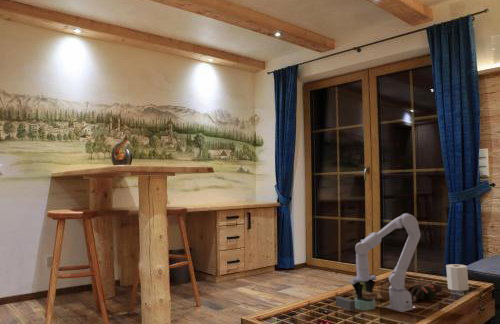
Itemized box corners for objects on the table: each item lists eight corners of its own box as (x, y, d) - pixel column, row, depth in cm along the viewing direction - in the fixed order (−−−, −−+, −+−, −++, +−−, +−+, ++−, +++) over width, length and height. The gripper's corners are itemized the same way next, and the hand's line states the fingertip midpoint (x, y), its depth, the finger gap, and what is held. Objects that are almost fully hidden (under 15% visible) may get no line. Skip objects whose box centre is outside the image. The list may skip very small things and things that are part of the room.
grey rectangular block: (355, 310, 189) (354, 300, 190) (350, 311, 188) (349, 301, 188) (341, 305, 198) (340, 296, 198) (336, 306, 197) (335, 297, 197)
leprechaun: (394, 295, 204) (425, 281, 218) (404, 313, 200) (435, 299, 213) (408, 287, 196) (439, 274, 210) (419, 306, 192) (450, 291, 205)
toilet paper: (455, 291, 214) (453, 268, 215) (443, 287, 224) (441, 264, 225) (473, 290, 215) (471, 266, 216) (460, 285, 226) (458, 263, 227)
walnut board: (377, 297, 190) (377, 294, 191) (368, 299, 188) (368, 295, 188) (360, 293, 200) (360, 289, 200) (351, 294, 197) (351, 291, 198)
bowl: (379, 308, 192) (378, 299, 192) (365, 311, 187) (364, 302, 188) (365, 303, 200) (364, 295, 200) (351, 307, 195) (350, 298, 196)
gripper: (367, 265, 202) (369, 293, 201) (345, 269, 195) (347, 298, 194) (378, 267, 196) (380, 296, 195) (355, 271, 189) (357, 301, 188)
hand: (364, 297), depth 194 cm, fingers closed on walnut board, 5 cm apart
